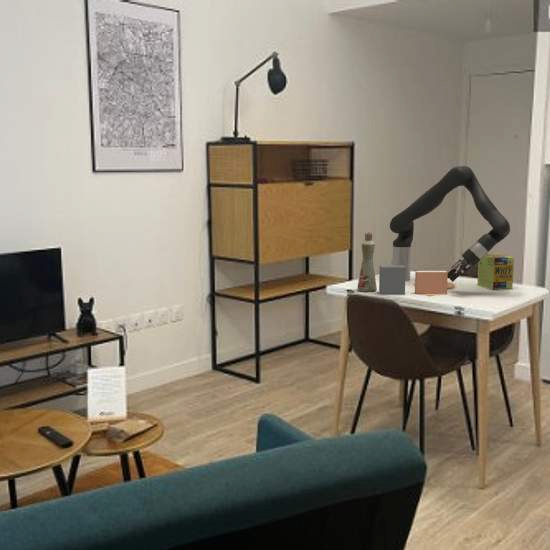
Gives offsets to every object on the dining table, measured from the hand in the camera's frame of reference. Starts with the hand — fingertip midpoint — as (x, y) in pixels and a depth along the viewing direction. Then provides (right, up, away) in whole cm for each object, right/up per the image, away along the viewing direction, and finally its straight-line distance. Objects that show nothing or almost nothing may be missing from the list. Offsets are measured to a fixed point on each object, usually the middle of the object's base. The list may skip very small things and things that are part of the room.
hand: (448, 278), depth 309 cm
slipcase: (-26, -7, +2) cm, 27 cm away
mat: (-8, -7, +2) cm, 11 cm away
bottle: (-36, -6, +9) cm, 38 cm away
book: (-8, -7, +2) cm, 10 cm away
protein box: (+27, -4, +18) cm, 33 cm away
